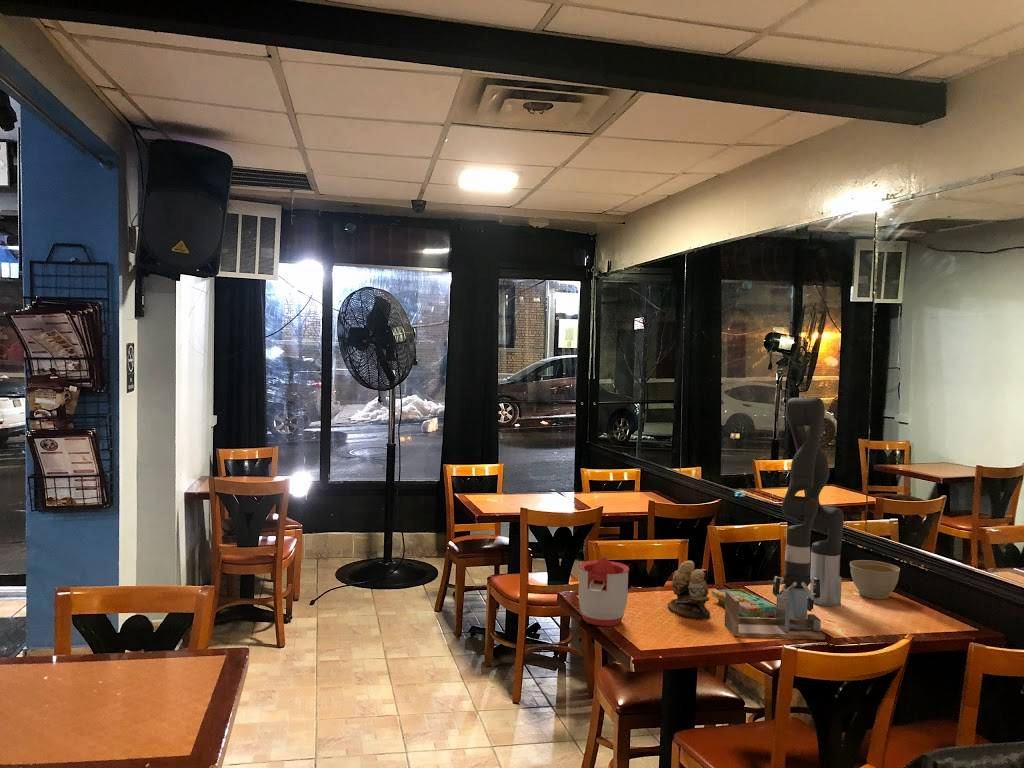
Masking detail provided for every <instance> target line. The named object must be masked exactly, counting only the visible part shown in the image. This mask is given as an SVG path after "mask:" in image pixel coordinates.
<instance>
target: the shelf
mask: <svg viewBox="0 0 1024 768" xmlns="http://www.w3.org/2000/svg"><path fill="white" fill-rule="evenodd" d="M789 624H807V619H789ZM724 626H725V628H726V627H727V628H728V629H727V628H726V629H727V630H728V631H729V632H730V633H732V634H733V635H734V636H745V637H744V638H761V637H779V638H778V639H794V638H798V639H799V640H800V639H801V640H803V639H804V640H826V635H825V634H824V633H823V632H822V631H821V630H820V631H813V630H793V629H789V632H784V631H783V630H782V629H781V628H780V627H779V626H778V625H777V624H776V617H762V618H755V617H743V616H740V615H739V600H738V599H737V598H736V597H735V596H734V595H733V594H732V593H731V592H730V591H726V599H725V606H724ZM732 634H731V635H732ZM733 635H732V636H733ZM734 636H733V637H734Z"/></svg>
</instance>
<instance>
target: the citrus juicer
mask: <svg viewBox="0 0 1024 768" xmlns="http://www.w3.org/2000/svg"><path fill="white" fill-rule="evenodd" d="M578 569H579V570H578V571H579V574H578V603H579V605H578V606H579V609H580V614H581V616H582V620H583V621H584V622H586V624H590V625H595V626H600V627H601V626H603V627H608V628H609V627H613V626H616V625H619V624H620V623H621V622H622V620H623V617H624V614H625V612H626V607H627V603H628V594H629V593H628V588H629V572H630V568H629V566H628V565H626V564H623V563H622V562H617V561H611V560H609V559H608V558H607V557H606V556H602V557H601V558H599V559H598V560H594V559H593V560H586V561H582V562H581V563H579V564H578Z"/></svg>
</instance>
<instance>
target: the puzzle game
mask: <svg viewBox="0 0 1024 768" xmlns="http://www.w3.org/2000/svg"><path fill="white" fill-rule="evenodd" d="M726 591H730V592H731V593H732V594H733V595H734V596H735V597H736V598H737V599H738V600H739V614H740V615H739V616H740V617H755V618H757V617H762V618H769V617H768V616H772V617H773V616H774V615H775V614H776V605H777V604H776V605H775V604H774V603H772V602H769V601H767V600H766V599H764V598H761V597H759V596H757V595H755V594H753V593H751V592H749V591H747V590H745V589H743V588H734V589H731V588H730V589H720V590H719V589H716V590H714V589H713V590H711V595H712V596H713V597H714V598H716V599H717V600H718V603H719V604H720V605H721V604H722V606H723V605H724V607H725V599H726Z"/></svg>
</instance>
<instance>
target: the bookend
mask: <svg viewBox="0 0 1024 768" xmlns="http://www.w3.org/2000/svg"><path fill="white" fill-rule="evenodd" d="M789 614H790V602H789V601H788V600H787V599H786V598H785V597H783V596H782V595H781V594H777V597H776V612H775V618H776V624H777V625H778V626H779V627H780V628H781V629H782V630H783V631H784V632H789V629H793V630H813V631H821V622H822V621H821V618H819V617H818V616H816V615H815V614H814V613H813V614H811V613H810V614H809V613H807V624H789Z"/></svg>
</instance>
